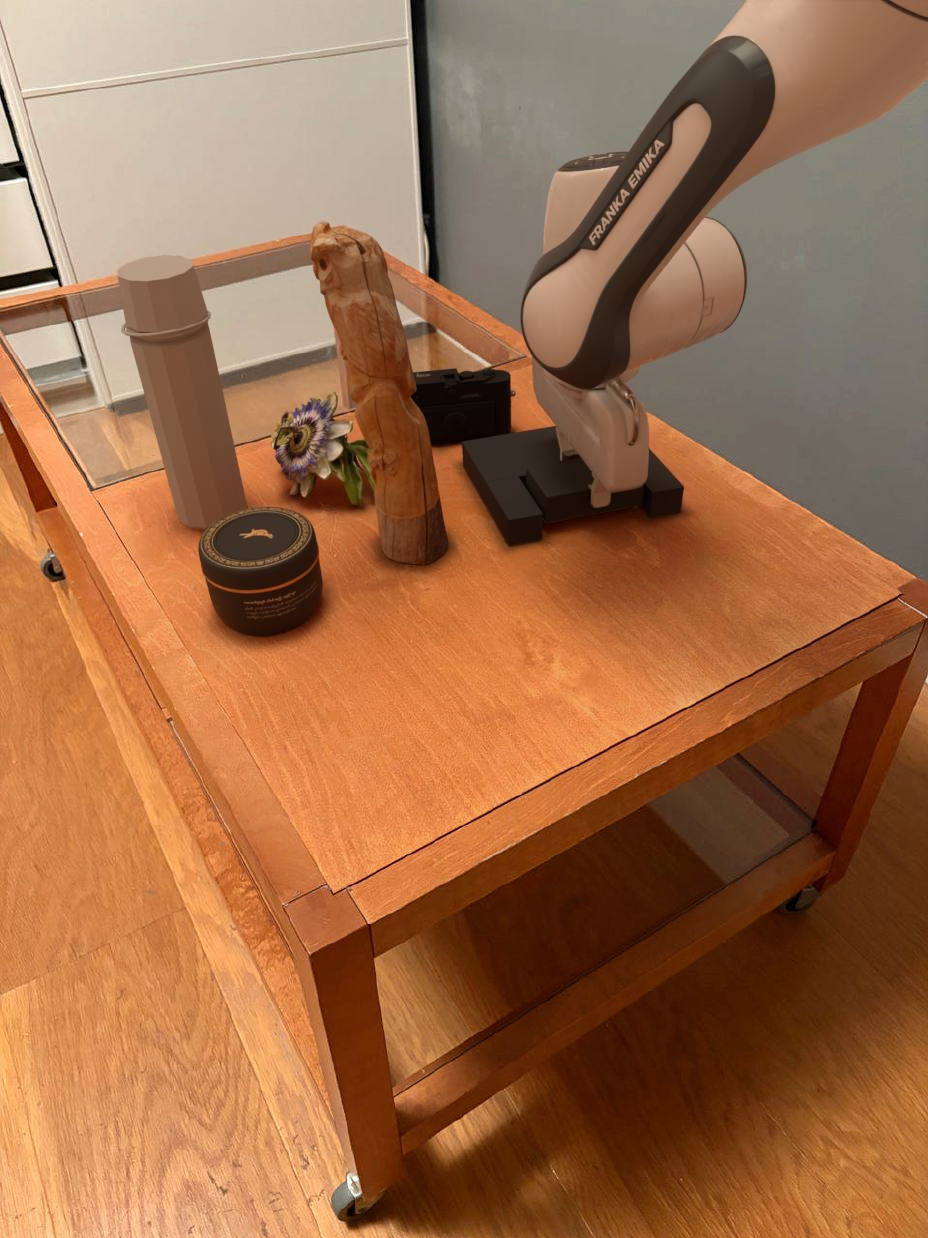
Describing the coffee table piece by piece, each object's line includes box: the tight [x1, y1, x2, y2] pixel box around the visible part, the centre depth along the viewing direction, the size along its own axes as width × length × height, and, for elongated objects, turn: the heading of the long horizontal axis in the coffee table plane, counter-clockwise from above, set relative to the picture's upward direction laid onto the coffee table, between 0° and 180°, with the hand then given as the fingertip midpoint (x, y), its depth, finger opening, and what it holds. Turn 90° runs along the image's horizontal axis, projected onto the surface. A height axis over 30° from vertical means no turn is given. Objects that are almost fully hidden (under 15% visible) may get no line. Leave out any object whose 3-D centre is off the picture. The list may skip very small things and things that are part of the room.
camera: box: [411, 367, 517, 447], centre depth 106 cm, size 14×7×8 cm, turn 98°
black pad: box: [526, 457, 644, 525], centre depth 93 cm, size 10×6×3 cm, turn 106°
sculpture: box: [309, 220, 450, 566], centre depth 81 cm, size 7×9×30 cm
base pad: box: [461, 425, 685, 547], centre depth 97 cm, size 18×16×3 cm
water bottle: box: [116, 254, 248, 531], centre depth 89 cm, size 9×8×25 cm
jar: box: [197, 506, 324, 638], centre depth 82 cm, size 10×10×8 cm
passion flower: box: [270, 391, 376, 508], centre depth 98 cm, size 11×11×12 cm
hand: (583, 484), depth 93 cm, fingers closed on black pad, 6 cm apart
